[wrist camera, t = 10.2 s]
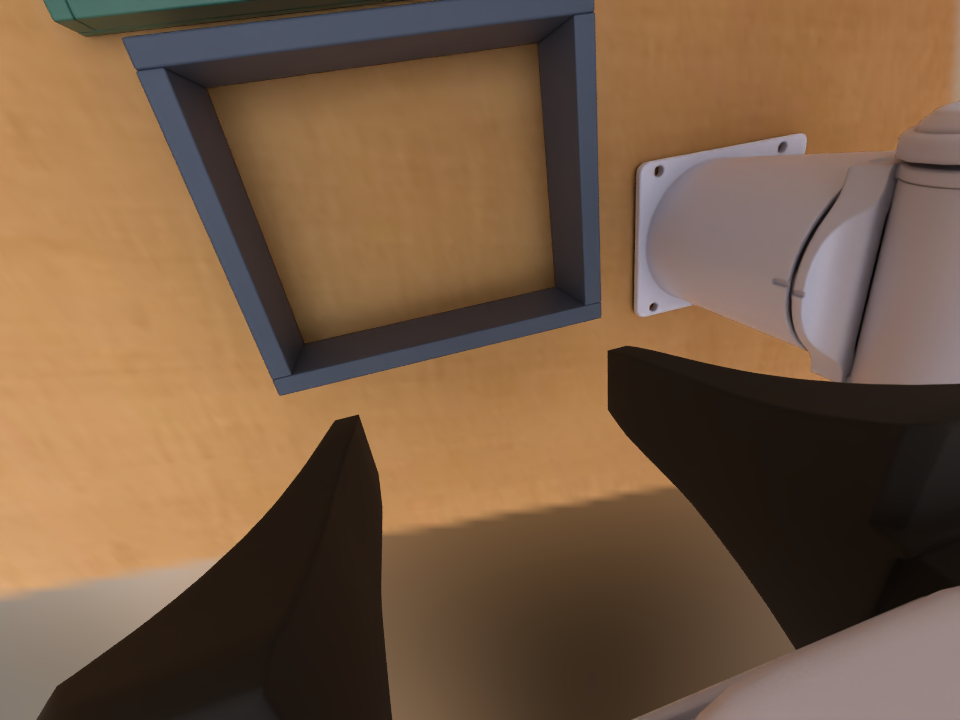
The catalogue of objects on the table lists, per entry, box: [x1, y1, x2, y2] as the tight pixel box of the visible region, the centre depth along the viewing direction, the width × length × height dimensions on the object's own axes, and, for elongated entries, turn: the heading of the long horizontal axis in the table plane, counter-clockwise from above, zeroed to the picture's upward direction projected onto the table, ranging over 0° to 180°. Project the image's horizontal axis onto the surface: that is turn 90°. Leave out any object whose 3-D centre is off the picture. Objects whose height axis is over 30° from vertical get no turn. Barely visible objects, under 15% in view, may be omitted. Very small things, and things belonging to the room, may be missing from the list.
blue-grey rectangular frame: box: [122, 0, 601, 396], centre depth 17 cm, size 15×12×4 cm
